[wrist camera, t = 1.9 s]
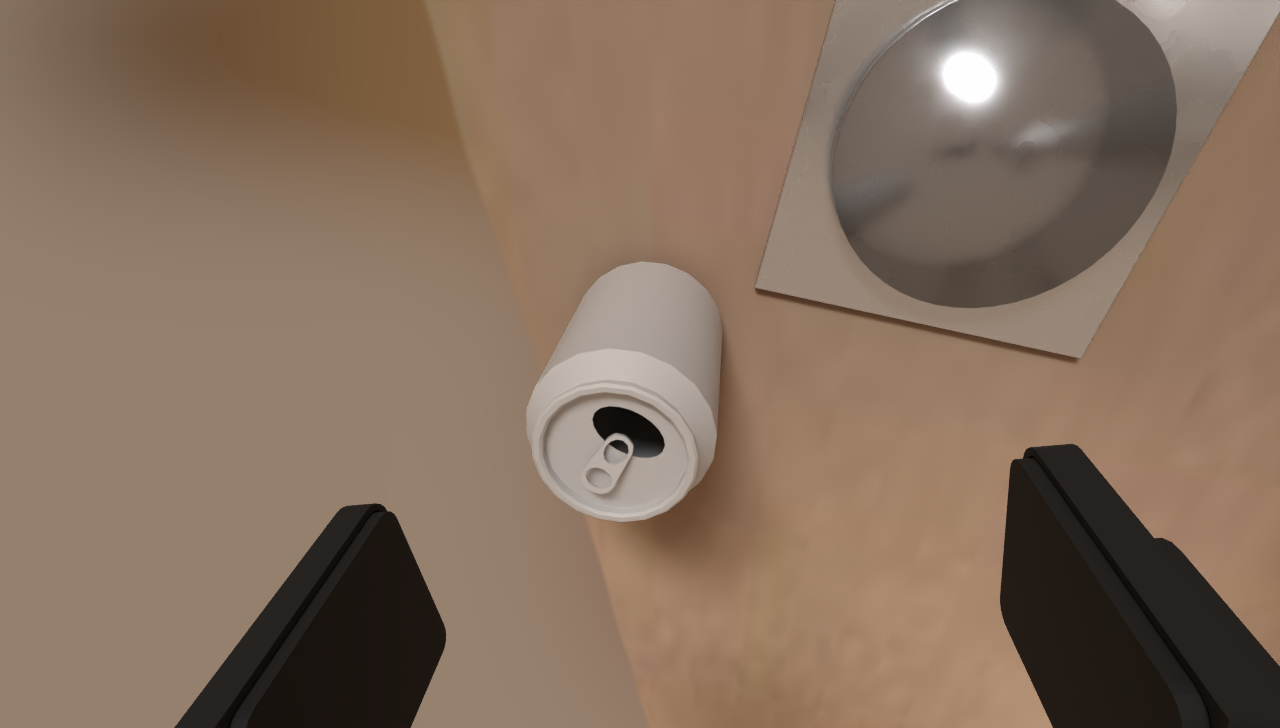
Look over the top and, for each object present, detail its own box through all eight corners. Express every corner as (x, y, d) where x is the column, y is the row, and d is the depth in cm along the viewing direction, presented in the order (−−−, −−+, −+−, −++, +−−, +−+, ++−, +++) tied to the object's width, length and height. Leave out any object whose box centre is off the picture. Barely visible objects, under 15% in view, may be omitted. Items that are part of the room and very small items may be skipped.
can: (752, 306, 34) (757, 442, 23) (673, 409, 37) (646, 568, 27) (625, 226, 33) (570, 331, 22) (556, 340, 36) (480, 478, 26)
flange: (1288, -17, 25) (1320, -19, 24) (1076, 354, 33) (1092, 370, 31) (863, -102, 25) (871, -108, 24) (755, 284, 33) (755, 297, 32)
